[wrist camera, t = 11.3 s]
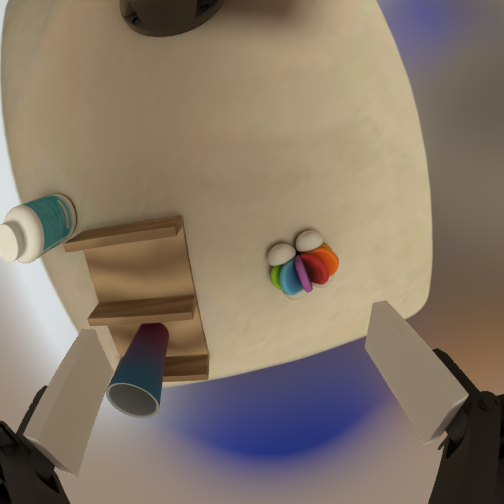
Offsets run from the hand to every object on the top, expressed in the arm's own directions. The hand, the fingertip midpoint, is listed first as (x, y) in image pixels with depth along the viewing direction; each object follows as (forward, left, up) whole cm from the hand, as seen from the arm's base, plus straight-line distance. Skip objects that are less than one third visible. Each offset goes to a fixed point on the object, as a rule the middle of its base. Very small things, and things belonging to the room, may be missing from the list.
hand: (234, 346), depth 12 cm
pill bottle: (-4, -26, -27) cm, 38 cm away
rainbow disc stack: (+8, +10, -28) cm, 30 cm away
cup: (+17, -14, -26) cm, 34 cm away
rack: (+11, -14, -27) cm, 33 cm away
